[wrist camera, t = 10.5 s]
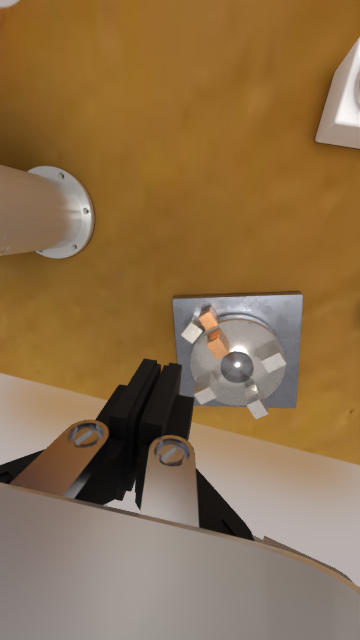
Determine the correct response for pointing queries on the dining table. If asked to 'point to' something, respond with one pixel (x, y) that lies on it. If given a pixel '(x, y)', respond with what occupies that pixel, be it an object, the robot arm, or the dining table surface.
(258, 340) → the round disc with cubes
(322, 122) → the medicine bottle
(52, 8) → the dining table surface
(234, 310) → the base plate
